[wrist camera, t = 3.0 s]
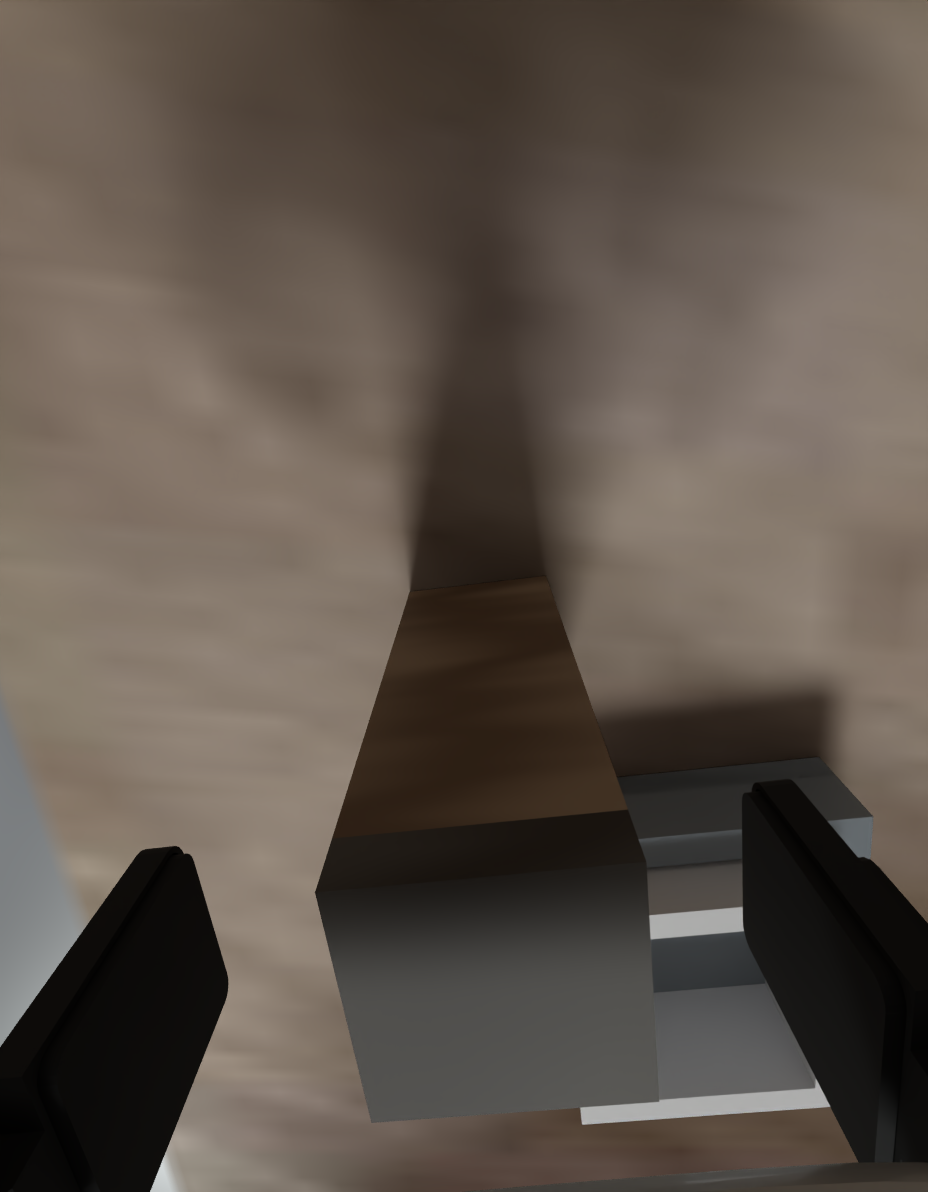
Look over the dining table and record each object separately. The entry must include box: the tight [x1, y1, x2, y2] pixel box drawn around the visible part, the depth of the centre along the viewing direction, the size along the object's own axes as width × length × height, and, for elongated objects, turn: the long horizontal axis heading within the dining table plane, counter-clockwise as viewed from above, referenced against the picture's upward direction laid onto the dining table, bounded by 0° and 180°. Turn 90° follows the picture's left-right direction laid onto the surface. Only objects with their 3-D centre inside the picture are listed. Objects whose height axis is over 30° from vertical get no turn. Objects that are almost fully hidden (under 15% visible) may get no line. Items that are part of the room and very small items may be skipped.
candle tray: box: [580, 757, 873, 1125], centre depth 21 cm, size 10×10×4 cm
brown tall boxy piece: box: [315, 576, 659, 1123], centre depth 14 cm, size 4×4×12 cm
